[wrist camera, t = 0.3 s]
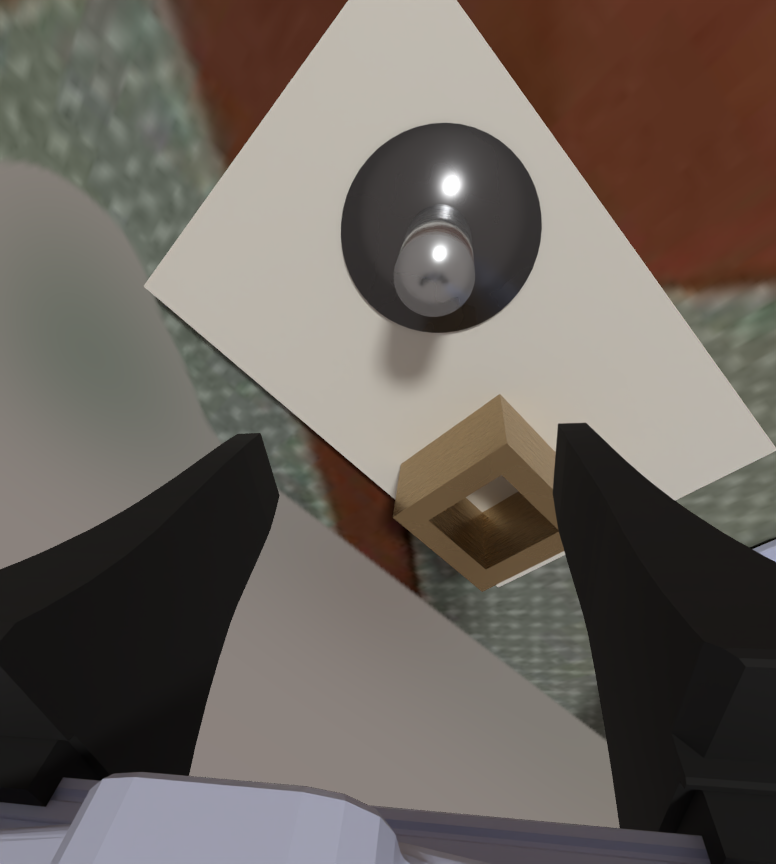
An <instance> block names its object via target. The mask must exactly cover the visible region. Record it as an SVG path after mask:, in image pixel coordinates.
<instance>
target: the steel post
mask: <svg viewBox="0 0 776 864" xmlns="http://www.w3.org/2000/svg"><path fill="white" fill-rule="evenodd" d="M541 231H542V219H541V209H540V203H539V198H538V195H537V192H536V188H535V185H534V183H533V181H532V179H531V177H530V175H529V173H528V171H527V170H526V168H525V167H524V165H523V163H522V162H521V161H520V159H519V158H518V157H517V156H516V155H515V154H514V153H513V151H512V150H511V149H509V148H508V147H507V146H506V145H505V144H504V143H502V142H501V141H500V140H498V139H497V138H495V137H494V136H492V135H490V134H489V133H487V132H484V131H482V130H480V129H477V128H475V127H471V126H467V125H463V124H457V123H431V124H427V125H422V126H417V127H415V128H412V129H409V130H407V131H404V132H402V133H400V134H398V135H397V136H395V137H393V138H391V139H390V140H388V141H387V142H386V143H384V144H383V145H382V146H380V147H379V148H378V149H377V150H376V151H375V152H374V153H373V154H372V155H371V156H370V157H369V158H368V159H367V160H366V162H365V163H364V164H363V166H362V167H361V168H360V170H359V171H358V173H357V175H356V176H355V178H354V180H353V182H352V184H351V186H350V189H349V191H348V193H347V196H346V200H345V203H344V207H343V212H342V219H341V243H342V251H343V255H344V259H345V263H346V266H347V269H348V271H349V274H350V276H351V278H352V280H353V282H354V284H355V286H356V287H357V289H358V290H359V292H360V293H361V294H362V296H363V297H364V298H365V299H366V300H367V302H368V303H369V304H370V305H371V306H372V307H373V308H375V309H376V310H377V311H378V312H379V313H380V314H382V315H383V316H385V317H386V318H388V319H389V320H391V321H393V322H395V323H397V324H399V325H401V326H404V327H407V328H409V329H413V330H417V331H421V332H430V333H447V332H454V331H459V330H463V329H467V328H470V327H473V326H475V325H478V324H480V323H482V322H484V321H486V320H487V319H489V318H491V317H492V316H494V315H495V314H497V313H498V312H499V311H501V310H502V309H503V308H504V307H505V306H506V305H507V304H509V303H510V302H511V301H512V299H513V298H514V297H515V296H516V295H517V294H518V292H519V291H520V290H521V288H522V287H523V285H524V284H525V282H526V281H527V279H528V277H529V275H530V273H531V271H532V269H533V266H534V264H535V261H536V258H537V255H538V251H539V246H540V241H541Z"/></svg>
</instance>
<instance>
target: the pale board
mask: <svg viewBox="0 0 776 864" xmlns="http://www.w3.org/2000/svg"><path fill="white" fill-rule="evenodd" d="M431 123H457V124H463V125H467V126H471V127H475V128H477V129H480V130H482V131H484V132H487V133H489V134H490V135H492V136H494V137H495V138H497V139H498V140H500V141H501V142H502V143H504V144H505V145H506V146H507V147H508V148H509V149H511V150H512V151H513V153H514V154H515V155H516V156H517V157H518V158H519V159H520V161H521V162H522V163H523V165H524V167H525V168H526V170H527V171H528V173H529V175H530V177H531V179H532V181H533V183H534V185H535V188H536V192H537V195H538V198H539V203H540V209H541V219H542V231H541V241H540V246H539V251H538V255H537V258H536V261H535V264H534V266H533V269H532V271H531V273H530V275H529V277H528V279H527V281H526V282H525V284H524V285H523V287H522V288H521V290H520V291H519V292H518V294H517V295H516V296H515V297H514V298H513V299H512V301H511V302H510V303H509V304H507V305H506V306H505V307H504V308H503V309H502V310H501V311H499V312H498V313H497V314H495V315H494V316H492V317H491V318H489V319H487V320H486V321H484V322H482V323H480V324H478V325H475V326H473V327H470V328H467V329H463V330H459V331H454V332H447V333H430V332H421V331H417V330H413V329H409V328H407V327H404V326H401V325H399V324H397V323H395V322H393V321H391V320H389V319H388V318H386V317H385V316H383V315H382V314H380V313H379V312H378V311H377V310H376V309H375V308H373V307H372V306H371V305H370V304H369V303H368V302H367V300H366V299H365V298H364V297H363V296H362V294H361V293H360V292H359V290H358V289H357V287H356V286H355V284H354V282H353V280H352V278H351V276H350V274H349V271H348V269H347V266H346V263H345V259H344V255H343V251H342V243H341V219H342V212H343V207H344V203H345V200H346V196H347V193H348V191H349V189H350V186H351V184H352V182H353V180H354V178H355V176H356V175H357V173H358V171H359V170H360V168H361V167H362V166H363V164H364V163H365V162H366V160H367V159H368V158H369V157H370V156H371V155H372V154H373V153H374V152H375V151H376V150H377V149H378V148H379V147H380V146H382V145H383V144H384V143H386V142H387V141H388V140H390V139H391V138H393V137H395V136H397V135H398V134H400V133H402V132H404V131H407V130H409V129H412V128H415V127H417V126H422V125H427V124H431ZM144 287H145V288H146V289H147V290H149V291H150V292H151V293H152V294H153V295H154V296H156V297H157V298H158V299H159V300H160V301H162V302H163V303H164V304H165V305H166V306H167V307H169V308H170V309H171V310H172V311H173V312H175V313H176V314H177V315H178V316H179V317H180V318H182V319H183V320H184V321H185V322H186V323H187V324H189V325H190V326H191V327H192V328H193V329H195V330H196V331H197V332H198V333H199V334H200V335H202V336H203V337H204V338H205V339H206V340H208V341H209V342H210V343H211V344H212V345H213V346H215V347H216V348H217V349H218V350H219V351H220V352H222V353H223V354H224V355H225V356H226V357H228V358H229V359H230V360H231V361H232V362H233V363H235V364H236V365H237V366H238V367H239V368H241V369H242V370H243V371H244V372H245V373H246V374H248V375H249V376H250V377H251V378H252V379H254V380H255V381H256V382H257V383H258V384H259V385H261V386H262V387H263V388H264V389H265V390H266V391H268V392H269V393H270V394H271V395H272V396H274V397H275V398H276V399H277V400H278V401H279V402H281V403H282V404H283V405H284V406H285V407H287V408H288V409H289V410H290V411H291V412H292V413H294V414H295V415H296V416H297V417H298V418H299V419H301V420H302V421H303V422H304V423H305V424H307V425H308V426H309V427H310V428H311V429H312V430H314V431H315V432H316V433H317V434H318V435H320V436H321V437H322V438H323V439H324V440H325V441H327V442H328V443H329V444H330V445H331V446H332V447H334V448H335V449H336V450H337V451H338V452H340V453H341V454H342V455H343V456H344V457H345V458H347V459H348V460H349V461H350V462H351V463H353V464H354V465H355V466H356V467H357V468H358V469H360V470H361V471H362V472H363V473H364V474H365V475H367V476H368V477H369V478H370V479H371V480H373V481H374V482H375V483H376V484H377V485H378V486H380V487H381V488H382V489H383V490H384V491H386V492H387V493H388V494H389V495H390V496H391V497H393V498H394V499H396V493H397V486H398V479H399V473H400V466H401V464H402V463H403V462H405V461H406V460H407V459H409V458H410V457H412V456H413V455H414V454H416V453H417V452H419V451H420V450H421V449H423V448H424V447H426V446H427V445H429V444H430V443H431V442H433V441H434V440H436V439H437V438H438V437H440V436H441V435H443V434H444V433H445V432H447V431H448V430H450V429H451V428H452V427H454V426H455V425H457V424H458V423H459V422H461V421H462V420H464V419H465V418H467V417H468V416H469V415H471V414H472V413H474V412H475V411H476V410H478V409H479V408H481V407H482V406H483V405H485V404H486V403H488V402H489V401H490V400H492V399H493V398H495V397H496V396H497V395H499V394H501V395H502V396H503V397H504V399H505V400H506V401H507V402H508V403H509V404H510V405H511V406H512V407H513V408H514V409H515V410H516V411H517V412H518V413H519V414H520V415H521V416H522V417H523V419H524V420H525V421H526V422H527V423H528V424H529V425H530V426H531V427H532V428H533V429H534V430H535V431H536V432H537V433H538V434H539V435H540V436H541V437H542V439H543V440H544V441H545V442H546V443H547V444H548V445H549V446H550V447H551V448H552V449H553V450H554V451H555V452H556V442H557V429H558V424H559V423H587V424H588V425H589V426H590V427H591V428H592V429H593V430H594V431H595V432H596V433H597V434H599V435H600V436H601V437H602V438H603V439H604V440H605V441H606V442H607V443H608V444H609V445H610V446H611V447H612V448H613V449H614V450H615V451H616V452H617V453H618V454H619V455H620V456H621V457H623V458H624V459H625V460H626V461H627V462H628V463H629V464H630V465H631V466H633V467H634V468H635V469H636V470H637V471H638V472H639V473H641V474H642V475H643V476H644V477H645V478H647V479H648V480H649V481H650V482H651V483H653V484H654V485H655V486H656V487H658V488H659V489H660V490H662V491H663V492H664V493H666V494H667V495H668V496H669V497H671V498H672V499H673V500H677V499H679V498H681V497H683V496H685V495H687V494H689V493H691V492H693V491H695V490H697V489H699V488H701V487H703V486H705V485H707V484H709V483H711V482H714V481H716V480H718V479H720V478H722V477H724V476H726V475H728V474H730V473H732V472H734V471H736V470H738V469H740V468H742V467H744V466H746V465H748V464H750V463H752V462H754V461H756V460H758V459H760V458H762V457H764V456H766V455H768V454H770V453H772V452H774V451H776V447H775V446H774V445H773V443H772V442H771V440H770V439H769V438H768V436H767V435H766V433H765V432H764V431H763V429H762V428H761V426H760V425H759V424H758V422H757V421H756V419H755V418H754V417H753V415H752V414H751V412H750V411H749V410H748V408H747V407H746V405H745V404H744V403H743V401H742V400H741V398H740V397H739V396H738V394H737V393H736V391H735V390H734V389H733V387H732V386H731V384H730V383H729V382H728V380H727V379H726V377H725V376H724V375H723V373H722V372H721V370H720V369H719V368H718V366H717V365H716V363H715V362H714V361H713V359H712V358H711V356H710V355H709V354H708V352H707V351H706V349H705V348H704V347H703V345H702V344H701V342H700V341H699V339H698V338H697V337H696V335H695V334H694V332H693V331H692V330H691V328H690V327H689V325H688V324H687V323H686V321H685V320H684V318H683V317H682V316H681V314H680V313H679V311H678V310H677V309H676V307H675V306H674V304H673V303H672V302H671V300H670V299H669V297H668V296H667V295H666V293H665V292H664V290H663V289H662V288H661V286H660V285H659V283H658V282H657V281H656V279H655V278H654V276H653V275H652V274H651V272H650V271H649V269H648V268H647V267H646V265H645V264H644V262H643V261H642V260H641V258H640V257H639V255H638V254H637V253H636V251H635V250H634V248H633V247H632V246H631V244H630V243H629V241H628V240H627V239H626V237H625V236H624V234H623V233H622V232H621V230H620V229H619V227H618V226H617V225H616V223H615V222H614V220H613V219H612V218H611V216H610V215H609V213H608V212H607V211H606V209H605V208H604V206H603V205H602V204H601V202H600V201H599V199H598V198H597V197H596V195H595V194H594V192H593V191H592V190H591V188H590V187H589V185H588V184H587V182H586V181H585V180H584V178H583V177H582V175H581V174H580V173H579V171H578V170H577V168H576V167H575V166H574V164H573V163H572V161H571V160H570V159H569V157H568V156H567V154H566V153H565V152H564V150H563V149H562V147H561V146H560V145H559V143H558V142H557V140H556V139H555V138H554V136H553V135H552V133H551V132H550V131H549V129H548V128H547V126H546V125H545V124H544V122H543V121H542V119H541V118H540V117H539V115H538V114H537V112H536V111H535V110H534V108H533V107H532V105H531V104H530V103H529V101H528V100H527V98H526V97H525V96H524V94H523V93H522V91H521V90H520V89H519V87H518V86H517V84H516V83H515V82H514V80H513V79H512V77H511V76H510V75H509V73H508V72H507V70H506V69H505V68H504V66H503V65H502V63H501V62H500V61H499V59H498V58H497V56H496V55H495V54H494V52H493V51H492V49H491V48H490V47H489V45H488V44H487V42H486V41H485V40H484V38H483V37H482V35H481V34H480V33H479V31H478V30H477V28H476V27H475V25H474V24H473V23H472V21H471V20H470V18H469V17H468V16H467V14H466V13H465V11H464V10H463V9H462V7H461V6H460V4H459V3H458V2H457V0H348V2H347V3H346V4H345V6H344V7H343V9H342V10H341V11H340V13H339V14H338V16H337V17H336V18H335V20H334V21H333V23H332V24H331V25H330V27H329V28H328V30H327V31H326V32H325V34H324V35H323V37H322V38H321V39H320V41H319V42H318V44H317V45H316V46H315V48H314V49H313V51H312V52H311V53H310V55H309V56H308V57H307V59H306V60H305V62H304V63H303V64H302V66H301V67H300V69H299V70H298V71H297V73H296V74H295V76H294V77H293V78H292V80H291V81H290V83H289V84H288V85H287V87H286V88H285V90H284V91H283V92H282V94H281V95H280V97H279V98H278V99H277V101H276V102H275V104H274V105H273V106H272V108H271V109H270V110H269V112H268V113H267V115H266V116H265V117H264V119H263V120H262V122H261V123H260V124H259V126H258V127H257V129H256V130H255V131H254V133H253V134H252V136H251V137H250V138H249V140H248V141H247V143H246V144H245V145H244V147H243V148H242V150H241V151H240V152H239V154H238V155H237V157H236V158H235V159H234V161H233V162H232V164H231V165H230V166H229V168H228V169H227V170H226V172H225V173H224V175H223V176H222V177H221V179H220V180H219V182H218V183H217V184H216V186H215V187H214V189H213V190H212V191H211V193H210V194H209V196H208V197H207V198H206V200H205V201H204V203H203V204H202V205H201V207H200V208H199V210H198V211H197V212H196V214H195V215H194V217H193V218H192V219H191V221H190V222H189V223H188V225H187V226H186V228H185V229H184V230H183V232H182V233H181V235H180V236H179V237H178V239H177V240H176V242H175V243H174V244H173V246H172V247H171V249H170V250H169V251H168V253H167V254H166V256H165V257H164V258H163V260H162V261H161V263H160V264H159V265H158V267H157V268H156V270H155V271H154V272H153V274H152V275H151V276H150V278H149V279H148V281H147V282H146V283H145V285H144ZM517 492H518V490H517V489H516V488H515V487H514V486H513V485H512V484H510V483H509V482H508V481H507V480H506V479H505V478H504V477H503V476H502V475H501V476H499V477H498V478H496V479H494V480H493V481H491V482H490V483H488V484H486V485H485V486H483V487H481V488H480V489H478V490H477V491H475V492H473V493H472V494H470V495H469V496H467V497H466V498H467V499H468V500H469V501H470V502H471V503H473V504H474V505H475V506H476V507H477V508H478V509H479V510H480V511H481V512H484V511H486V510H488V509H489V508H491V507H493V506H494V505H496V504H498V503H499V502H501V501H503V500H505V499H506V498H508V497H510V496H511V495H513V494H515V493H517ZM563 555H565V551H563V552H561V553H559V554H557V555H555V556H553V557H551V558H549V559H547V560H545V561H543V562H541V563H539V564H537V565H535V566H533V567H531V568H529V569H527V570H525V571H523V572H521V573H519V574H517V575H515V576H513V577H511V578H509V579H507V580H505V581H503V582H501V583H499V584H497V585H496V586H498V587H500V586H502V585H504V584H506V583H508V582H510V581H512V580H514V579H516V578H519V577H521V576H523V575H525V574H527V573H529V572H531V571H533V570H535V569H537V568H539V567H541V566H543V565H545V564H547V563H549V562H551V561H553V560H555V559H557V558H559V557H561V556H563Z"/></svg>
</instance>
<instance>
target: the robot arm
mask: <svg viewBox="0 0 776 864" xmlns="http://www.w3.org/2000/svg"><path fill="white" fill-rule="evenodd" d="M278 499H279V493H278V489H277V486H276V483H275V479H274V476H273V473H272V469H271V466H270V463H269V460H268V456H267V453H266V450H265V446H264V443H263V440H262V436H261V433H252V434H237V435H235V436H234V437H232V438H230V439H229V440H227V441H226V442H224V443H223V444H221V445H220V446H218V447H217V448H216V449H214V450H213V451H211V452H210V453H209V454H207V455H206V456H204V457H203V458H202V459H200V460H199V461H197V462H196V463H195V464H193V465H192V466H190V467H189V468H188V469H186V470H185V471H183V472H182V473H181V474H179V475H178V476H177V477H175V478H174V479H172V480H171V481H169V482H168V483H166V484H165V485H163V486H162V487H160V488H159V489H157V490H156V491H154V492H153V493H151V494H150V495H148V496H147V497H145V498H143V499H142V500H140V501H139V502H137V503H136V504H134V505H132V506H131V507H129V508H127V509H126V510H124V511H123V512H121V513H119V514H117V515H115V516H114V517H112V518H110V519H108V520H107V521H105V522H103V523H101V524H99V525H98V526H96V527H94V528H92V529H90V530H88V531H86V532H84V533H82V534H80V535H78V536H75V537H73V538H72V539H69V540H67V541H65V542H63V543H61V544H59V545H57V546H55V547H53V548H50V549H48V550H46V551H44V552H42V553H40V554H37V555H35V556H32V557H30V558H28V559H25V560H23V561H21V562H18V563H16V564H13V565H10V566H8V567H6V568H3V569H0V864H776V539H775V540H773V541H770V542H768V543H766V544H763V545H761V546H758V547H756V548H754V549H751V548H749V547H747V546H745V545H744V544H742V543H740V542H738V541H736V540H735V539H733V538H731V537H729V536H728V535H726V534H724V533H723V532H721V531H719V530H718V529H716V528H715V527H713V526H712V525H710V524H709V523H707V522H705V521H704V520H702V519H701V518H699V517H698V516H696V515H695V514H693V513H692V512H690V511H689V510H687V509H686V508H684V507H683V506H682V505H680V504H679V503H677V502H676V501H675V500H673V499H672V498H671V497H669V496H668V495H667V494H666V493H664V492H663V491H662V490H660V489H659V488H658V487H656V486H655V485H654V484H653V483H651V482H650V481H649V480H648V479H647V478H645V477H644V476H643V475H642V474H641V473H639V472H638V471H637V470H636V469H635V468H634V467H633V466H631V465H630V464H629V463H628V462H627V461H626V460H625V459H624V458H623V457H621V456H620V455H619V454H618V453H617V452H616V451H615V450H614V449H613V448H612V447H611V446H610V445H609V444H608V443H607V442H606V441H605V440H604V439H603V438H602V437H601V436H600V435H599V434H597V433H596V432H595V431H594V430H593V429H592V428H591V427H590V426H589V425H588V424H587V423H559V424H558V429H557V442H556V455H555V467H554V480H553V499H554V506H555V513H556V519H557V525H558V531H559V534H560V538H561V541H562V545H563V548H564V551H565V555H566V558H567V562H568V565H569V568H570V572H571V575H572V578H573V582H574V585H575V588H576V592H577V595H578V598H579V602H580V605H581V608H582V612H583V615H584V619H585V623H586V627H587V631H588V636H589V641H590V647H591V652H592V658H593V663H594V668H595V674H596V679H597V685H598V691H599V697H600V702H601V708H602V714H603V720H604V726H605V732H606V739H607V745H608V751H609V757H610V764H611V769H612V776H613V783H614V790H615V797H616V804H617V811H618V818H619V825H620V828H609V827H598V826H588V825H577V824H565V823H555V822H544V821H533V820H522V819H511V818H500V817H489V816H479V815H468V814H457V813H446V812H435V811H424V810H413V809H402V808H392V807H380V806H370V805H367V804H365V803H362V802H360V801H358V800H356V799H354V798H352V797H350V796H348V795H345V794H342V793H337V792H332V791H327V790H322V789H317V788H312V787H307V786H297V785H285V784H275V783H274V784H273V783H263V782H252V781H239V780H228V779H216V778H206V777H194V776H189V772H190V768H191V764H192V759H193V755H194V749H195V745H196V741H197V738H198V734H199V730H200V726H201V722H202V718H203V714H204V710H205V706H206V702H207V698H208V695H209V691H210V687H211V684H212V681H213V677H214V674H215V670H216V667H217V664H218V660H219V657H220V654H221V651H222V647H223V644H224V641H225V637H226V635H227V632H228V628H229V625H230V622H231V620H232V617H233V615H234V612H235V609H236V607H237V604H238V602H239V600H240V598H241V595H242V593H243V590H244V589H245V586H246V584H247V582H248V580H249V577H250V575H251V573H252V571H253V568H254V566H255V564H256V562H257V559H258V557H259V555H260V553H261V550H262V548H263V546H264V543H265V541H266V539H267V536H268V534H269V531H270V529H271V525H272V522H273V518H274V515H275V511H276V507H277V503H278Z"/></svg>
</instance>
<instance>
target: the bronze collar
mask: <svg viewBox="0 0 776 864" xmlns="http://www.w3.org/2000/svg"><path fill="white" fill-rule="evenodd" d="M555 455H556V452H555V451H554V450H553V449H552V448H551V447H550V446H549V445H548V444H547V443H546V442H545V441H544V440H543V439H542V437H541V436H540V435H539V434H538V433H537V432H536V431H535V430H534V429H533V428H532V427H531V426H530V425H529V424H528V423H527V422H526V421H525V420H524V419H523V417H522V416H521V415H520V414H519V413H518V412H517V411H516V410H515V409H514V408H513V407H512V406H511V405H510V404H509V403H508V402H507V401H506V400H505V399H504V397H503V396H502V395H501V394H499V395H497V396H496V397H495V398H493V399H492V400H490V401H489V402H488V403H486V404H485V405H483V406H482V407H481V408H479V409H478V410H476V411H475V412H474V413H472V414H471V415H469V416H468V417H467V418H465V419H464V420H462V421H461V422H459V423H458V424H457V425H455V426H454V427H452V428H451V429H450V430H448V431H447V432H445V433H444V434H443V435H441V436H440V437H438V438H437V439H436V440H434V441H433V442H431V443H430V444H429V445H427V446H426V447H424V448H423V449H421V450H420V451H419V452H417V453H416V454H414V455H413V456H412V457H410V458H409V459H407V460H406V461H405V462H403V463H402V464H401V466H400V473H399V479H398V486H397V493H396V499H395V506H394V512H393V518H394V519H395V520H396V521H398V522H399V523H400V524H401V525H402V526H404V527H405V528H406V529H407V530H408V531H410V532H411V533H412V534H413V535H414V536H416V537H417V538H418V539H419V540H420V541H422V542H423V543H424V544H425V545H427V546H428V547H429V548H430V549H431V550H433V551H434V552H435V553H436V554H437V555H439V556H440V557H441V558H442V559H443V560H445V561H446V562H447V563H448V564H449V565H451V566H452V567H453V568H454V569H455V570H457V571H458V572H459V573H460V574H461V575H463V576H464V577H465V578H466V579H468V580H469V581H470V582H471V583H472V584H474V585H475V586H476V587H477V588H478V589H480V590H481V591H482V592H483V591H485V590H487V589H489V588H491V587H493V586H495V585H497V584H499V583H501V582H503V581H505V580H507V579H509V578H511V577H513V576H515V575H517V574H519V573H521V572H523V571H525V570H527V569H529V568H531V567H533V566H535V565H537V564H539V563H541V562H543V561H545V560H547V559H549V558H551V557H553V556H555V555H557V554H559V553H561V552H563V551H564V548H563V545H562V541H561V538H560V534H559V531H558V525H557V519H556V513H555V506H554V499H553V480H554V467H555ZM501 475H502V476H503V477H504V478H505V479H506V480H507V481H508V482H509V483H510V484H512V485H513V486H514V487H515V488H516V489H517V490H518V492H517V493H515V494H513V495H511V496H510V497H508V498H506V499H505V500H503V501H501V502H499V503H498V504H496V505H494V506H493V507H491V508H489V509H488V510H486V511H484V512H481V511H480V510H479V509H478V508H477V507H476V506H475V505H474V504H473V503H471V502H470V501H469V500H468V499H467V498H466V497H467V496H469V495H470V494H472V493H473V492H475V491H477V490H478V489H480V488H481V487H483V486H485V485H486V484H488V483H490V482H491V481H493V480H494V479H496V478H498V477H499V476H501Z"/></svg>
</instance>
